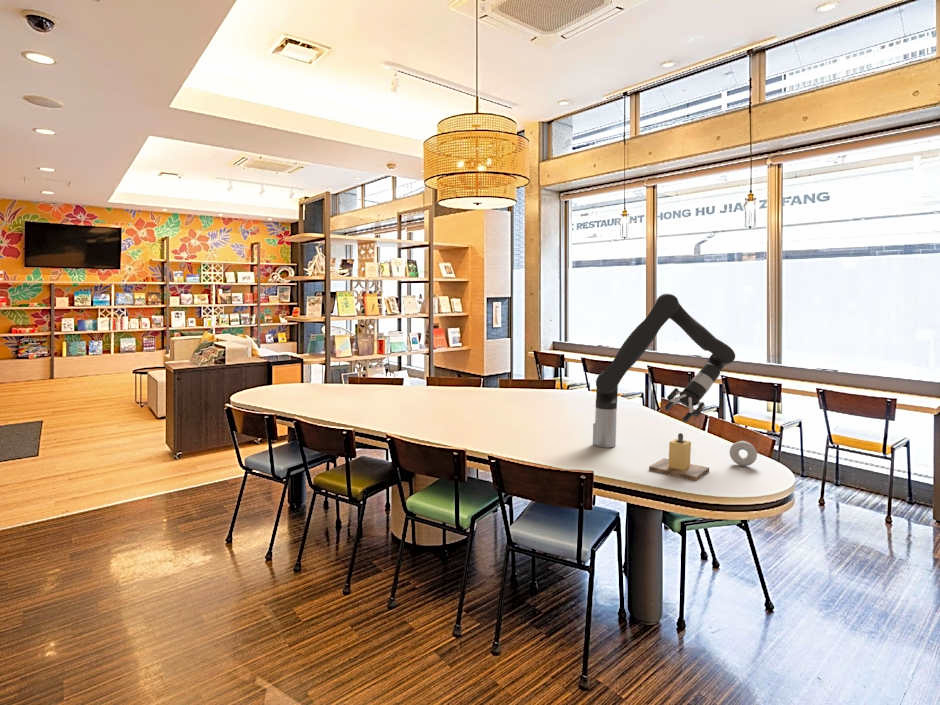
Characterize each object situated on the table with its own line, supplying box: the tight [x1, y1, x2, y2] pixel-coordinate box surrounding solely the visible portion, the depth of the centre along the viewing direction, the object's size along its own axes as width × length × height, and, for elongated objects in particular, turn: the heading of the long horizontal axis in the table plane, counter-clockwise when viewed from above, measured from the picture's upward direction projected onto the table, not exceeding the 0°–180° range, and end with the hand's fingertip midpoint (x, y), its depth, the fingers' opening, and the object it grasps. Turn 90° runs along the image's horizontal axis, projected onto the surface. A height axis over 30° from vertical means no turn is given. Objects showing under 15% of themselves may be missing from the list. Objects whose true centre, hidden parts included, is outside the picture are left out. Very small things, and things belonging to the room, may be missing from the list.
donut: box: [729, 440, 758, 467], centre depth 222 cm, size 10×4×10 cm, turn 53°
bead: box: [668, 438, 692, 470], centre depth 216 cm, size 6×6×10 cm
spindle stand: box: [648, 432, 710, 481], centre depth 215 cm, size 18×14×15 cm
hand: (674, 415), depth 229 cm, fingers open, 8 cm apart
